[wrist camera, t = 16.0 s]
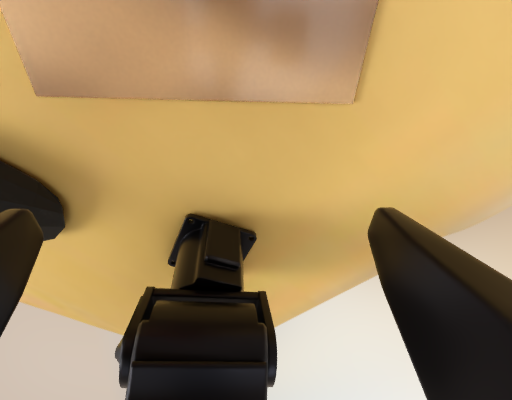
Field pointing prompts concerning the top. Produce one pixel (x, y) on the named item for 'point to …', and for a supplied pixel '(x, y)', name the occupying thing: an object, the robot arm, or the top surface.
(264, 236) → the top surface
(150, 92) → the placemat
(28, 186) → the gaming mouse
